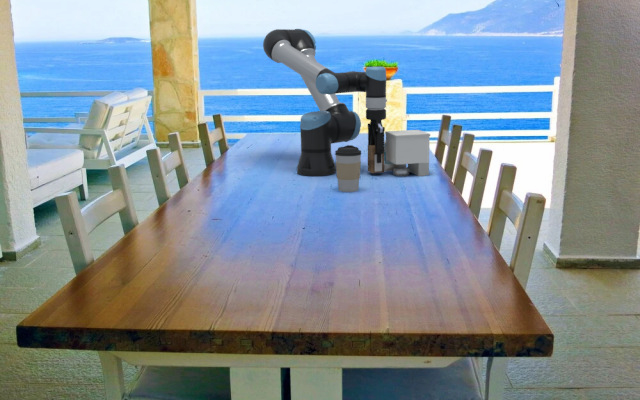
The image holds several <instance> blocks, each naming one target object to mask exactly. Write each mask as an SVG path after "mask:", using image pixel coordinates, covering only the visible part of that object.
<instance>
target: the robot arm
mask: <svg viewBox="0 0 640 400" xmlns="http://www.w3.org/2000/svg"><path fill="white" fill-rule="evenodd" d="M316 42H317V41H316V39H315V37H314V35H313V34H312V32H311V31H309V30H306V29H302V28H294V29H286V28H285V29H281V28H280V29H278V28H277V29H274V30H271V31H269V32H268V33H267V34H266V36H265V37H264V40H263V43H262V47H263V51H264V53H265V54H266V56H267V57H268V58H269V59H270V60H271V61H273V62H275V63H277V64H282V65H284V66H286V67H287V68H289V69H291V70H292V71H293V72H295V73H297V74H298V75H300V77H301V78H302V80H303V82H304V84H305V86H306V88H307V89H308V91H309V93H310V95H311V96H312V99H313V101H314V102H315V105H316V106H317V107H318V109H319V110H316V111H311V112H307V113H306V112H305V113H304V114H303V115H302V116H301V117H300V125H299V128H300V149H301V150H300V157H299V159H298V163H297V165H296V174H298V175H300V176H309V177H319V176H320V177H323V176H331V175H334V174H337V171H336V162H335V161H334V157H333V155H332V144H338V143H348V142H350V141H353V140H355V139H357V137H359V135H360V132H361V127H362V122H361V121H362V120H361V119H360V115H359V114H358V112H356V111H353V110H349V108H348V107H347V105H346V103H344V102H340V100H339V98H338V96H337V95H336V94H345V93H356V92H357V93H358V92H359V93H365V108H366V110H365V119H366V120H368V121H370V122H369V123H367V146H368V145H375V153H374V155H375V172H377V171H382V154H383V153H384V142H385V131H386V128H385V127H384V126H383V123H382V120H386V119H387V110H386V108H387V102H388V99H387V79H388V78H387V69H386V68H385V67H384V66H367V67H366V69H365V71H355V70H352V71H351V70H349V71H345V72H334V71H332V70H331V69H330V68H328V67H326V66H324V65H323V64H321V63H320V62H318V61H317V59H316V49H317V45H316V44H317V43H316Z"/></svg>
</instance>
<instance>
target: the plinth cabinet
mask: <svg viewBox="0 0 640 400" xmlns="http://www.w3.org/2000/svg"><path fill="white" fill-rule="evenodd" d="M384 135H385V140H386V160H388V161H390V162H392V163H394V164H396V165H397V164H406V165H407V167H408V168H409V173H412V174H414V175H415V176H418V177H426V176H425V175H429V176H430V174H429V173H430V139H431V138H430V137H431V133H429V132H426V131H422V130H421V129H409V130H408V129H407V130H392V131H391V130H389V131H388V130H387V131H386V130H385V131H384Z"/></svg>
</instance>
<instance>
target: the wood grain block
mask: <svg viewBox="0 0 640 400" xmlns="http://www.w3.org/2000/svg"><path fill="white" fill-rule="evenodd" d="M374 153H375V145H368V144H367V172H369V173H371V174H380V173H382V174H383V173H385V172H392V171H393V172H394V168H396V167H407V164H397V165H396V164H385V165H384V153H383V154H382V171H377V172H375V155H374Z"/></svg>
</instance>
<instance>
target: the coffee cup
mask: <svg viewBox="0 0 640 400" xmlns="http://www.w3.org/2000/svg"><path fill="white" fill-rule="evenodd" d="M334 155H335V166H336V178H337V188H338V191H339V192H343V193H352V192H358V191H359V189H360V178H361V165H362V159H361V156H362V150H361V149H359V147H357V146H355V145H350V144H348V145H345V146H340V147H338V148H337V149H336V150H335V151H334Z"/></svg>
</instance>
